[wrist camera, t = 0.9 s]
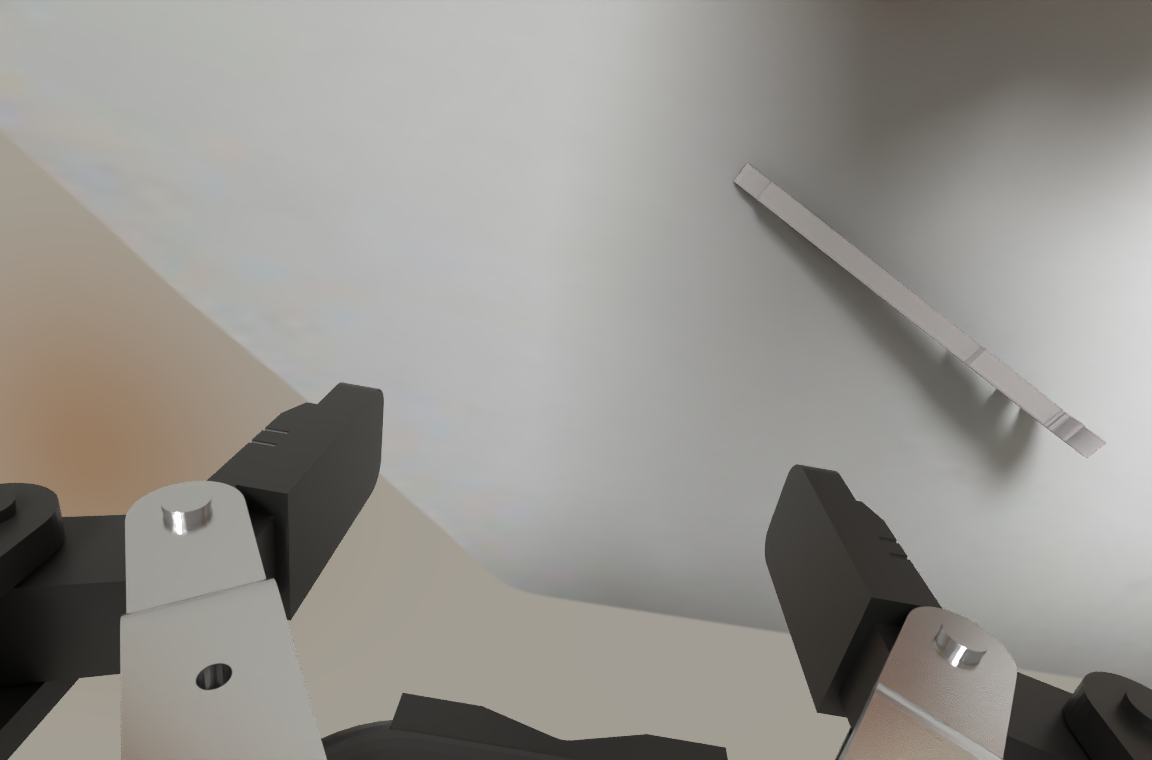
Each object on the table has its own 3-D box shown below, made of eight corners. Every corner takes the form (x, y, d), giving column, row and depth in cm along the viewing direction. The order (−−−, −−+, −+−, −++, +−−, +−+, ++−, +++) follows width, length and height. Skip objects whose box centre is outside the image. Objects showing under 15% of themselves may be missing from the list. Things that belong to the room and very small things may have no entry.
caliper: (1040, 396, 33) (1129, 458, 27) (1022, 410, 33) (1107, 475, 27) (746, 161, 29) (778, 176, 23) (730, 182, 29) (758, 201, 24)
